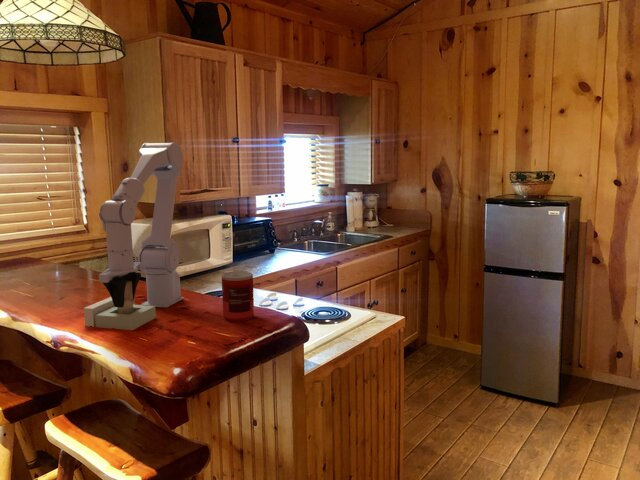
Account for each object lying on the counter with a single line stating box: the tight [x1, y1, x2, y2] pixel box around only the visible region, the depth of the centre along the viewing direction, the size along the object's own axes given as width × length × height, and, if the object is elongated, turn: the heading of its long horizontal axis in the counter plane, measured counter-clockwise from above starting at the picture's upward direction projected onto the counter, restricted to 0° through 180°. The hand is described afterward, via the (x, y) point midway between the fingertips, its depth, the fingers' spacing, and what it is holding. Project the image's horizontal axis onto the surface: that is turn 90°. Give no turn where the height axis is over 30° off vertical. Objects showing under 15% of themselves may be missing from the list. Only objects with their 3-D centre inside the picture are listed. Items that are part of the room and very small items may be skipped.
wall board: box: [83, 296, 136, 328], centre depth 138 cm, size 17×2×4 cm, turn 165°
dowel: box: [117, 281, 133, 314], centre depth 132 cm, size 4×4×8 cm
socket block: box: [95, 304, 157, 331], centre depth 133 cm, size 10×10×3 cm
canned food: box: [221, 270, 255, 322], centre depth 135 cm, size 8×8×11 cm
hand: (124, 304), depth 132 cm, fingers closed on dowel, 3 cm apart
